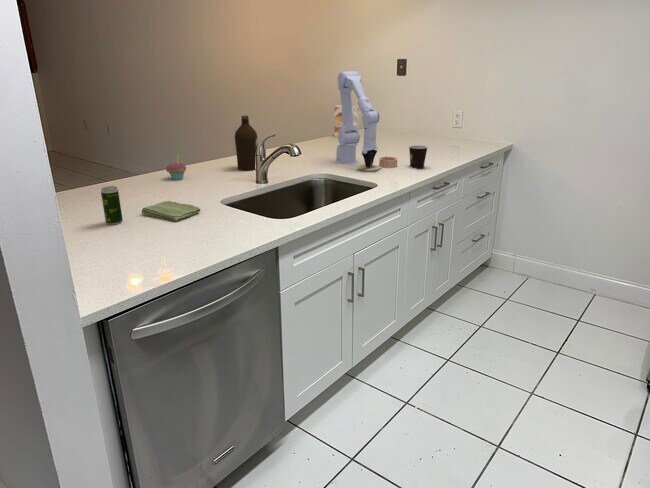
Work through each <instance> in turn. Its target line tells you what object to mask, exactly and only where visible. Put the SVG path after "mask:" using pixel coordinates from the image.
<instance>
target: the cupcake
mask: <svg viewBox="0 0 650 488" xmlns="http://www.w3.org/2000/svg"><path fill="white" fill-rule="evenodd" d="M179 154H180V153H179V152H177V154H176V162H172V163H169V164H168V165H167V166H166V169H165V171H166V172H167V173H169V175H170V178H171V179H172V180H175V181H176V180H177V181H178V180H183V178H184V175H185V172H186V171H187V167H186V165H185V164H184V163H181V162H179V159H180V158H179V157H180V155H179Z"/></svg>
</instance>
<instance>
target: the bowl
mask: <svg viewBox="0 0 650 488" xmlns="http://www.w3.org/2000/svg"><path fill="white" fill-rule="evenodd" d="M378 160H379V161H378V167H379V168H382V169H384V168H385V169H393V168H397V167H398V158H397V157H394V156H382V157H379V159H378Z"/></svg>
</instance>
